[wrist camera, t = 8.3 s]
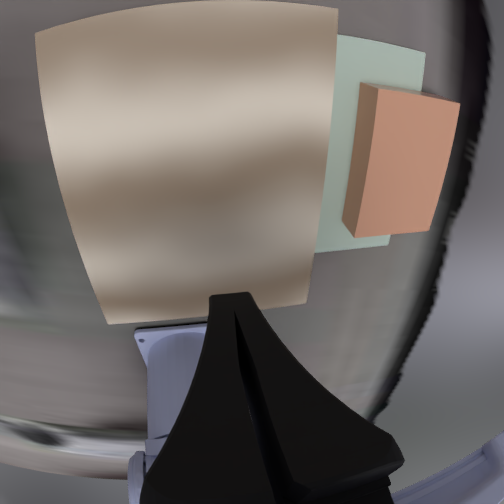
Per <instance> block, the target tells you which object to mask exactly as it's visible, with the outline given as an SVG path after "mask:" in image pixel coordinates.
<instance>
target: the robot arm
mask: <svg viewBox="0 0 504 504" xmlns="http://www.w3.org/2000/svg"><path fill="white" fill-rule="evenodd" d="M134 337H135V340H136V342H137V345H138V347H139V350H140V352H141V354H142V357H143V359H144V361H145V364H146V366H147V368H148V370H147V421H148V439H146V440H145V448H146V455H145V452H144V451H137V452H136V453H135V455H133V456H132V457H131V458H130V459H129V464H128V493H129V502H130V504H499V503H500V502H501V501H502V500H503V499H504V431H502V432H501V433H499V434H498V435H496V437H494V438H492V439H491V440H490V441H488V442H487V443H485V444H484V445H483V446H482V447H481V448H479V449H478V450H476V451H474V452H473V453H471V454H469V455H468V456H466V457H464V458H463V459H461V460H459V461H458V462H456V463H454V464H452V465H450V466H449V467H447V468H445V469H443V470H441V471H439V472H437V473H435V474H433V475H432V476H430V477H427V478H425V479H424V480H421V481H419V482H417V483H415V484H413V485H411V486H408V487H406V488H404V489H402V490H399V491H397V492H395V493H392V494H391V493H390V491H389V488H388V486H390V485H391V482H390V479H389V477H388V475H390V474H391V473H393V472H394V471H396V470H397V469H398V468H400V467H401V466H402V465H403V463H404V461H405V460H404V458H403V455H402V452H401V450H400V448H399V447H398V445H397V443H396V442H395V440H394V438H393V437H392V435H390V434H389V433H387V432H385V431H384V430H382V429H380V428H378V427H377V426H375V425H374V424H372V423H370V422H369V421H367V420H366V419H364V418H363V417H361V416H360V415H359V414H357V413H356V412H354V411H353V410H352V409H350V408H349V407H348V406H346V405H345V404H344V403H343V402H341V401H340V400H339V399H338V398H336V397H335V396H334V395H333V394H331V393H330V392H329V391H328V390H327V389H326V388H324V387H323V386H322V385H321V384H320V383H319V382H318V381H317V380H316V379H315V378H314V377H313V376H312V375H311V374H310V373H309V372H308V371H307V370H306V369H305V368H304V367H303V366H302V365H301V364H300V363H299V362H298V360H297V359H296V358H295V357H294V356H293V355H292V353H291V352H290V351H289V350H288V349H287V348H286V346H285V345H284V344H283V343H282V341H281V340H280V339H279V337H278V336H277V334H276V333H275V332H274V330H273V329H272V328H271V326H270V325H269V323H268V322H267V320H266V319H265V317H264V316H263V314H262V313H261V311H260V309H259V308H258V306H257V304H256V302H255V301H254V299H253V297H252V295H251V293H249V292H248V291H247V292H237V293H227V294H216V295H211V296H210V297H209V313H208V321H207V323H204V324H195V325H185V326H174V327H162V328H150V329H138V330H136V331H135V332H134ZM247 403H248V404H247ZM248 407H249V408H248ZM249 410H250V412H249ZM250 414H251V416H250ZM251 418H252V420H251Z"/></svg>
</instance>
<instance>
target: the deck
mask: <svg viewBox="0 0 504 504" xmlns="http://www.w3.org/2000/svg"><path fill="white" fill-rule="evenodd" d="M337 30H338V9H335V8H329V7H322V6H315V5H307V4H297V3H287V2H273V1H250V0H217V1H195V2H181V3H170V4H161V5H153V6H146V7H139V8H133V9H127V10H121V11H116V12H111V13H106V14H101V15H97V16H93V17H88V18H84V19H80V20H77V21H73V22H69V23H66V24H62V25H59V26H56V27H52V28H49V29H46V30H43V31H40V32H37V33H35V43H36V56H37V67H38V76H39V84H40V92H41V99H42V105H43V112H44V118H45V123H46V129H47V134H48V139H49V144H50V149H51V153H52V158H53V162H54V166H55V170H56V174H57V178H58V182H59V186H60V190H61V194H62V197H63V201H64V204H65V208H66V211H67V215H68V218H69V221H70V224H71V228H72V231H73V234H74V237H75V240H76V243H77V246H78V249H79V252H80V255H81V257H82V260H83V263H84V266H85V268H86V271H87V274H88V276H89V279H90V282H91V284H92V287H93V289H94V292H95V294H96V297H97V299H98V302H99V304H100V306H101V309H102V311H103V313H104V316H105V318H106V320H107V323H108V324H121V323H135V322H148V321H160V320H171V319H182V318H192V317H202V316H208V313H209V297H210V296H211V295H216V294H227V293H237V292H247V291H248V292H249V293H251V295H252V297H253V299H254V301H255V302H256V304H257V306H258V308H259V309H260V310H262V309H270V308H277V307H285V306H292V305H299V304H306V301H307V296H308V290H309V284H310V278H311V272H312V266H313V259H314V253H315V246H316V240H317V233H318V226H319V219H320V212H321V204H322V197H323V189H324V181H325V173H326V164H327V155H328V146H329V137H330V127H331V116H332V105H333V93H334V80H335V66H336V50H337Z"/></svg>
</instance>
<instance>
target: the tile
mask: <svg viewBox="0 0 504 504" xmlns="http://www.w3.org/2000/svg"><path fill="white" fill-rule="evenodd" d="M459 108H460V103H457V102H455V101H452V100H450V99H448V98H445V97H443V96H440V95H436V94H431V93H426V92H421V91H416V90H411V89H405V88H399V87H393V86H386V85H379V84H372V83H364V82H360V88H359V99H358V108H357V117H356V126H355V134H354V142H353V150H352V157H351V164H350V171H349V178H348V185H347V191H346V197H345V203H344V209H343V215H342V222H343V223H344V225H345V226H346V228H347V229H348V230H349V232H350V233H351V234H352V236H353V237H354V238H361V237H371V236H381V235H391V234H401V233H411V232H421V231H429V228H430V225H431V221H432V218H433V215H434V212H435V209H436V205H437V202H438V198H439V195H440V191H441V188H442V184H443V181H444V177H445V173H446V169H447V165H448V161H449V157H450V152H451V148H452V144H453V139H454V134H455V129H456V124H457V119H458V114H459Z"/></svg>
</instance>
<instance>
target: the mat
mask: <svg viewBox="0 0 504 504" xmlns="http://www.w3.org/2000/svg"><path fill="white" fill-rule="evenodd" d="M424 63H425V53H424V52H420V51H416V50H412V49H409V48H405V47H400V46H396V45H392V44H387V43H383V42H378V41H373V40H368V39H362V38H357V37H351V36H344V35H337V50H336V66H335V80H334V93H333V105H332V116H331V127H330V137H329V146H328V155H327V164H326V173H325V181H324V189H323V197H322V204H321V212H320V219H319V226H318V233H317V240H316V246H315V253H320V252H329V251H338V250H347V249H356V248H365V247H374V246H383V245H388V243H389V239H390V236H391V235H381V236H371V237H361V238H354V237H353V236H352V234H351V233H350V232H349V230H348V229H347V228H346V226H345V225H344V223H343V222H342V215H343V209H344V203H345V197H346V191H347V185H348V178H349V171H350V164H351V157H352V150H353V142H354V134H355V126H356V117H357V108H358V99H359V88H360V82H364V83H372V84H379V85H386V86H393V87H399V88H405V89H411V90H416V91H421V88H422V81H423V72H424Z"/></svg>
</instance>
